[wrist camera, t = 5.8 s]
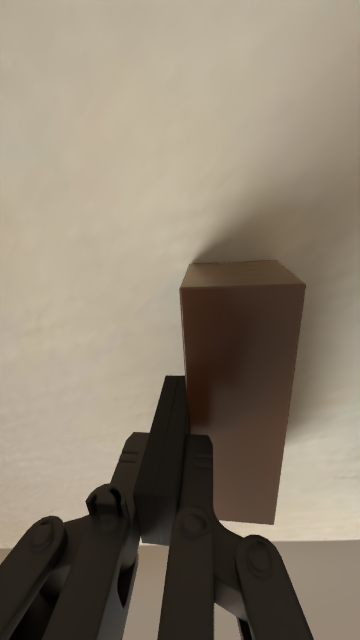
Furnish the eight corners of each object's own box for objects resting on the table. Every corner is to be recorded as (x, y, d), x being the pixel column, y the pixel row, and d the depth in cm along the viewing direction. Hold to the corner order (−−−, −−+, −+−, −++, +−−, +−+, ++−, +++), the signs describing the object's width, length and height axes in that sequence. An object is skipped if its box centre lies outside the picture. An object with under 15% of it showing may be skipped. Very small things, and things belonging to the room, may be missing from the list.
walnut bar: (198, 452, 19) (194, 518, 15) (189, 263, 14) (178, 287, 10) (260, 455, 19) (274, 525, 14) (277, 259, 13) (306, 284, 9)
